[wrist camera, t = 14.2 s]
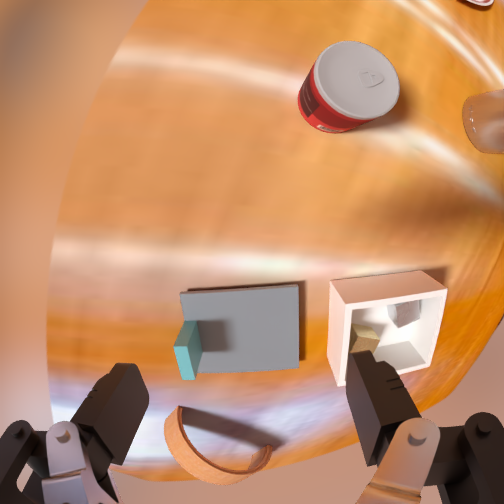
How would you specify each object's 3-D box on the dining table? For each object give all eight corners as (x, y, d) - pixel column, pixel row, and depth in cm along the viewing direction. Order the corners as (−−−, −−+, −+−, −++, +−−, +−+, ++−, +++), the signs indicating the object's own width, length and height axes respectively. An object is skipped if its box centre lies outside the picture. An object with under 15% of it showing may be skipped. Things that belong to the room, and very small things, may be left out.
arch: (254, 457, 47) (254, 496, 37) (165, 419, 44) (152, 460, 34) (272, 445, 45) (274, 486, 36) (178, 404, 42) (166, 448, 33)
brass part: (371, 327, 37) (380, 340, 33) (361, 347, 38) (369, 361, 34) (350, 322, 37) (358, 336, 33) (340, 343, 37) (347, 358, 34)
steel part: (406, 286, 35) (418, 296, 32) (408, 307, 36) (420, 318, 33) (385, 295, 35) (395, 306, 32) (388, 316, 36) (398, 328, 33)
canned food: (370, 117, 30) (415, 99, 19) (319, 146, 31) (348, 134, 21) (337, 66, 28) (368, 30, 18) (284, 92, 30) (297, 58, 19)
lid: (296, 280, 36) (306, 308, 28) (297, 359, 39) (304, 396, 32) (183, 288, 37) (166, 316, 29) (198, 364, 40) (188, 401, 32)
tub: (421, 270, 35) (447, 288, 29) (409, 341, 38) (429, 366, 32) (329, 280, 36) (345, 304, 29) (326, 355, 39) (337, 386, 32)
